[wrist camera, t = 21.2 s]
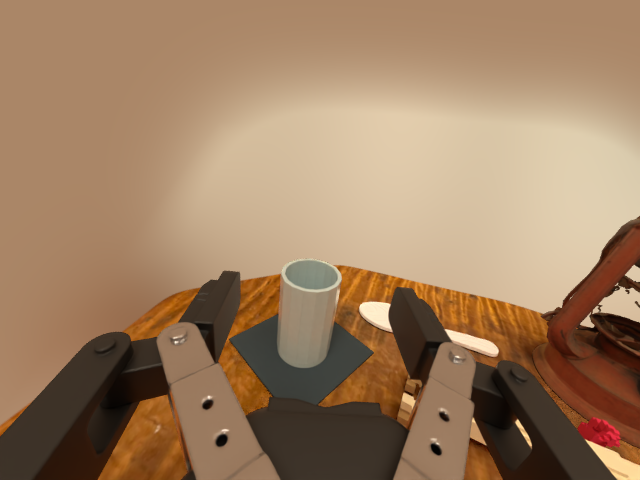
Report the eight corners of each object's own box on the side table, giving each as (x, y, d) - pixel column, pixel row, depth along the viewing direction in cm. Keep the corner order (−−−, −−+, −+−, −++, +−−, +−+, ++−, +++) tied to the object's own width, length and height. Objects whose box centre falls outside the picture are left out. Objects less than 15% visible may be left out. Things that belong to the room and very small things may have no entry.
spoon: (503, 369, 30) (505, 365, 30) (355, 320, 35) (356, 317, 34) (491, 337, 35) (493, 334, 34) (362, 298, 39) (363, 295, 39)
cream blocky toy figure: (386, 458, 22) (959, 798, 11) (404, 386, 18) (1255, 776, 8) (409, 371, 30) (750, 518, 19) (424, 311, 26) (849, 448, 16)
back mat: (295, 425, 22) (295, 423, 22) (229, 340, 29) (229, 338, 29) (373, 353, 30) (373, 352, 30) (306, 300, 37) (306, 299, 37)
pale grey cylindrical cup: (300, 379, 26) (309, 300, 22) (266, 342, 30) (269, 269, 25) (338, 349, 30) (353, 277, 26) (305, 320, 34) (313, 253, 29)
